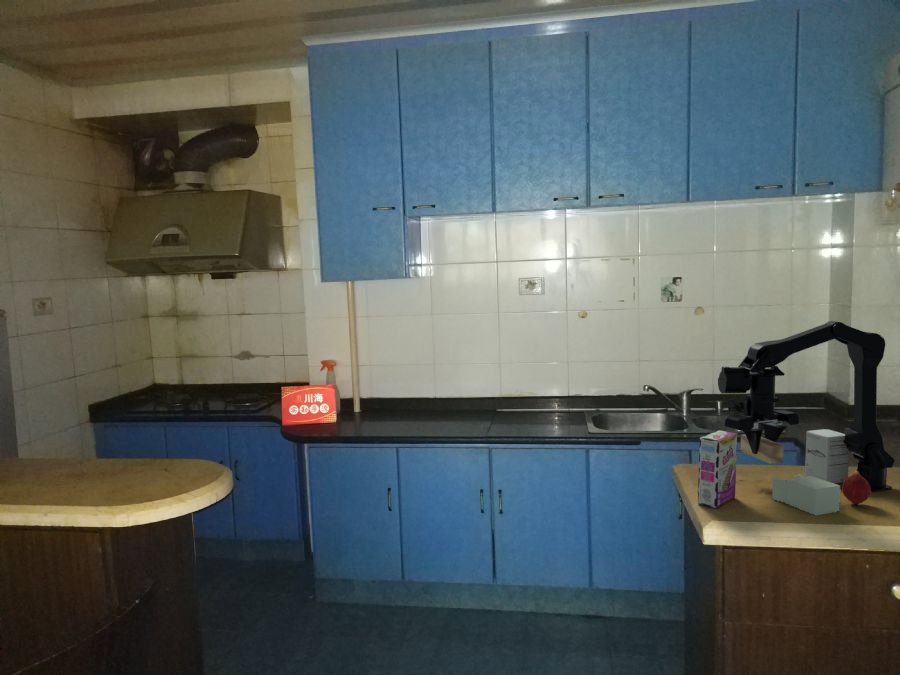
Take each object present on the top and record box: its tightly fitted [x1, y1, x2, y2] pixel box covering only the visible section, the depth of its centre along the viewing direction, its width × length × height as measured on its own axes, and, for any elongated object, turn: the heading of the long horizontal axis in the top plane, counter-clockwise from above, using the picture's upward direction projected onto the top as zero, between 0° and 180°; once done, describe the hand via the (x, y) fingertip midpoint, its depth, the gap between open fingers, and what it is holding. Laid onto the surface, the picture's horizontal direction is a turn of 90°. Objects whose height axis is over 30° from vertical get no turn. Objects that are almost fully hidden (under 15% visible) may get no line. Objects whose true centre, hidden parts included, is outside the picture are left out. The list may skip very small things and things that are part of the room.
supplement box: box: [804, 428, 850, 484], centre depth 171 cm, size 7×7×13 cm
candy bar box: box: [697, 430, 738, 509], centre depth 156 cm, size 11×5×16 cm, turn 134°
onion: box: [841, 470, 872, 505], centre depth 152 cm, size 6×6×8 cm
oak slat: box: [740, 434, 784, 465], centre depth 165 cm, size 4×12×4 cm, turn 10°
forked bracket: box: [771, 473, 841, 516], centre depth 152 cm, size 9×12×6 cm
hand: (761, 453), depth 165 cm, fingers closed on oak slat, 4 cm apart
